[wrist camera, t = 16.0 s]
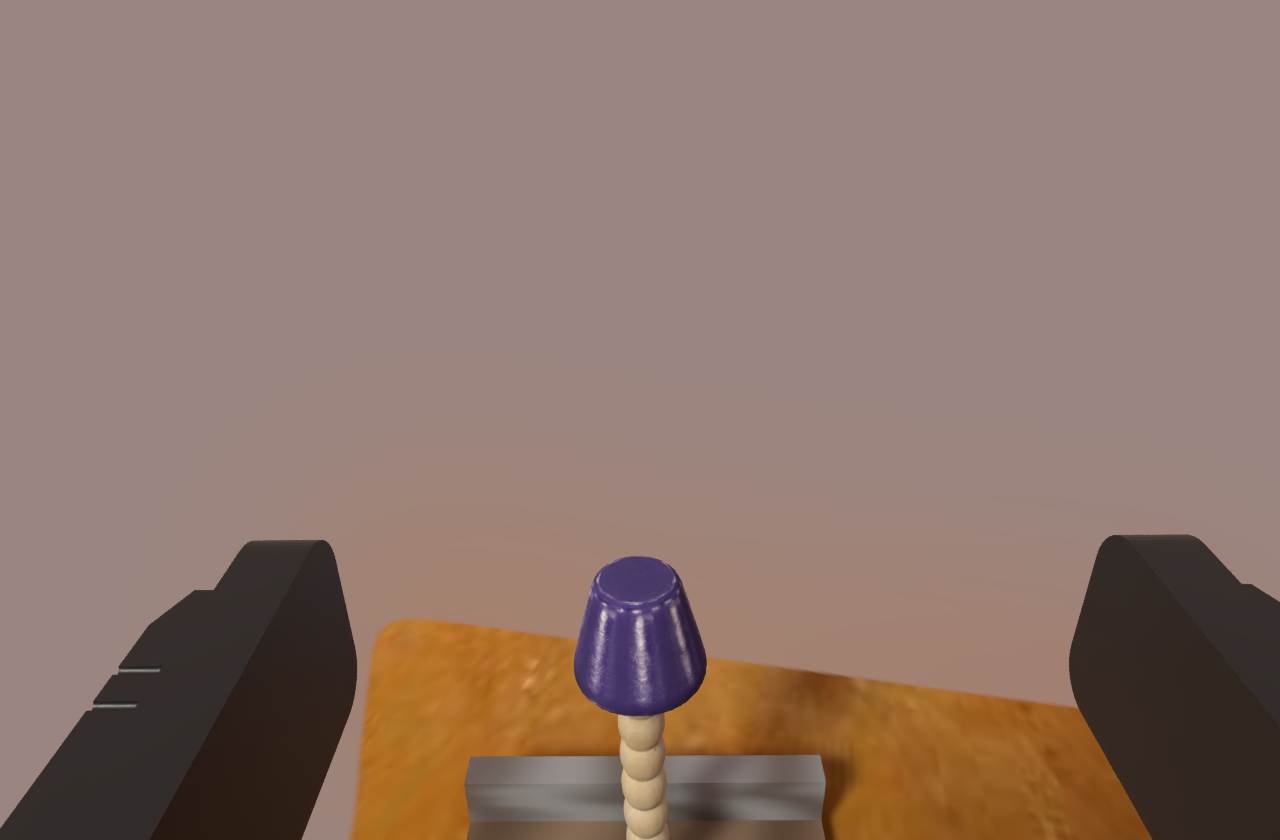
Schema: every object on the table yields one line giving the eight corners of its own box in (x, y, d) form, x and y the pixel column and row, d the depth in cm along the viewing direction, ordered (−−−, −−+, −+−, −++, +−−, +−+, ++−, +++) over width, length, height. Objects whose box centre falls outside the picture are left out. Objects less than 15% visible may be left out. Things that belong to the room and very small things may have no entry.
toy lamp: (567, 913, 36) (539, 594, 29) (628, 828, 40) (619, 523, 32) (667, 976, 34) (666, 648, 26) (723, 880, 38) (737, 565, 30)
